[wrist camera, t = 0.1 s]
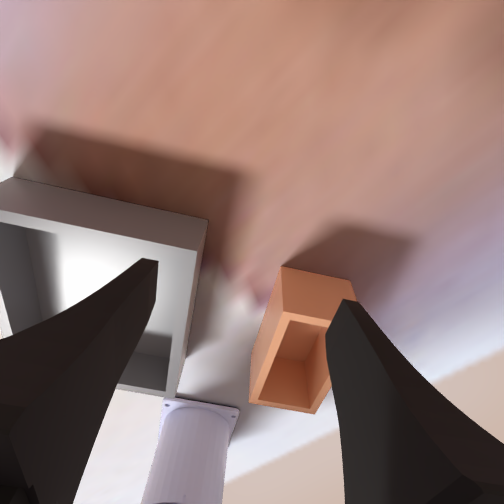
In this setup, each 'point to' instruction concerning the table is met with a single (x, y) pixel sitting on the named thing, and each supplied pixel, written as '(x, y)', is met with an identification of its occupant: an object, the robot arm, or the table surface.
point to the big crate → (99, 268)
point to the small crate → (296, 341)
